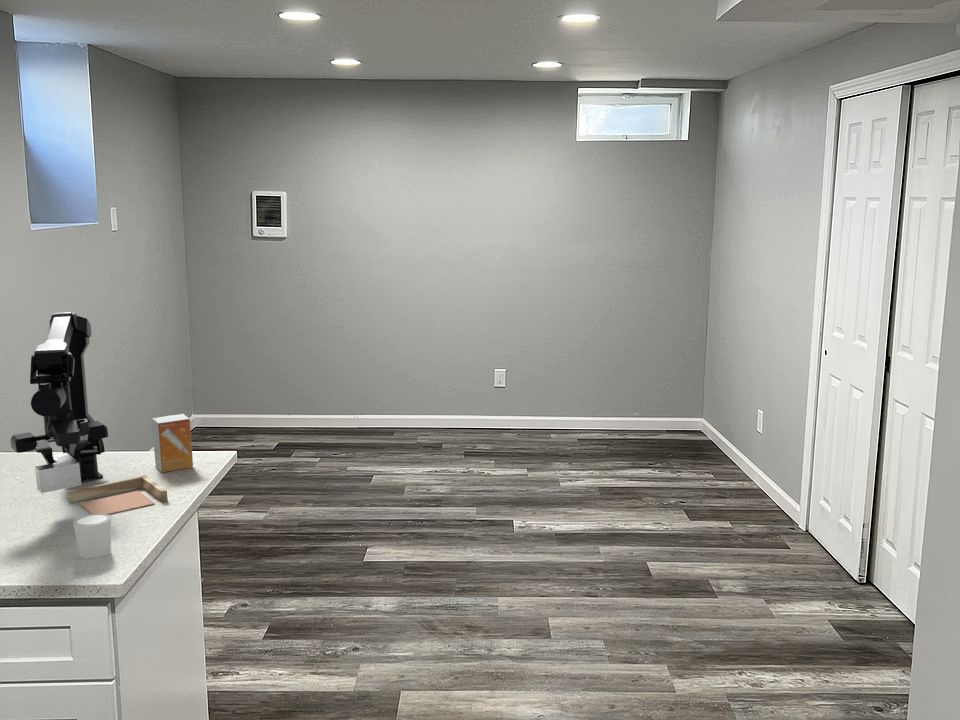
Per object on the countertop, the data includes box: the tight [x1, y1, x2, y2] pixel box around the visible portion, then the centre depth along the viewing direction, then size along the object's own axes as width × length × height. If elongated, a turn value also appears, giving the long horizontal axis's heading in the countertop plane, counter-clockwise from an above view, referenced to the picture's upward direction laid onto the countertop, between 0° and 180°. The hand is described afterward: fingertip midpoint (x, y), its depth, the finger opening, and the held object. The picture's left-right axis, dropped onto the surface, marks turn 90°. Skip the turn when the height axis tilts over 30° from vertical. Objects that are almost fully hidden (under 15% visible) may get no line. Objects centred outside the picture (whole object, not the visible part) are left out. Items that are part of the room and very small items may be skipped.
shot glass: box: [72, 513, 112, 559], centre depth 177 cm, size 7×7×7 cm
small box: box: [151, 413, 194, 473], centre depth 230 cm, size 8×6×13 cm
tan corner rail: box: [67, 474, 169, 504], centre depth 207 cm, size 15×18×2 cm
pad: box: [80, 490, 155, 515], centre depth 205 cm, size 11×13×1 cm
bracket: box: [34, 452, 82, 494], centre depth 196 cm, size 10×8×5 cm
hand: (64, 473), depth 199 cm, fingers closed on bracket, 3 cm apart
